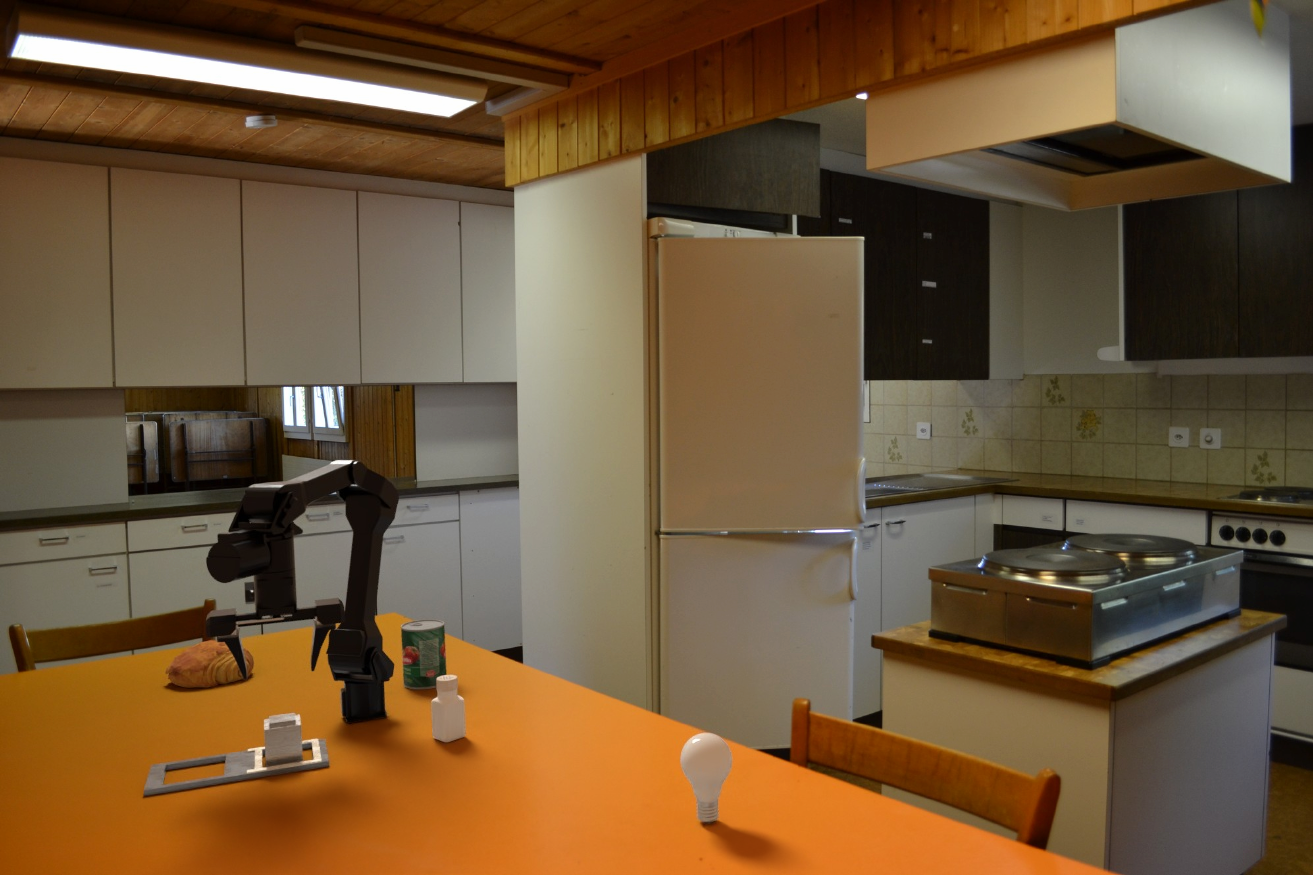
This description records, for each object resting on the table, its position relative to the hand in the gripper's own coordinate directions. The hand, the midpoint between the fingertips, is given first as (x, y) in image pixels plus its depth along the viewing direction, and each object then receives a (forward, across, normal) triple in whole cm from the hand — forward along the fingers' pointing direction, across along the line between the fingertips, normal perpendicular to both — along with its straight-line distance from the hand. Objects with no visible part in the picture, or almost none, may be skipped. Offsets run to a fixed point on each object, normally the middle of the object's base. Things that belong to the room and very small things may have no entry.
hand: (279, 674), depth 145 cm
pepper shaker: (+13, -24, +1) cm, 27 cm away
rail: (+13, +6, 0) cm, 14 cm away
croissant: (+13, +12, -53) cm, 56 cm away
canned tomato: (+13, -25, -30) cm, 41 cm away
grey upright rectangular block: (+13, 0, 0) cm, 13 cm away
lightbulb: (+13, -48, +45) cm, 67 cm away
